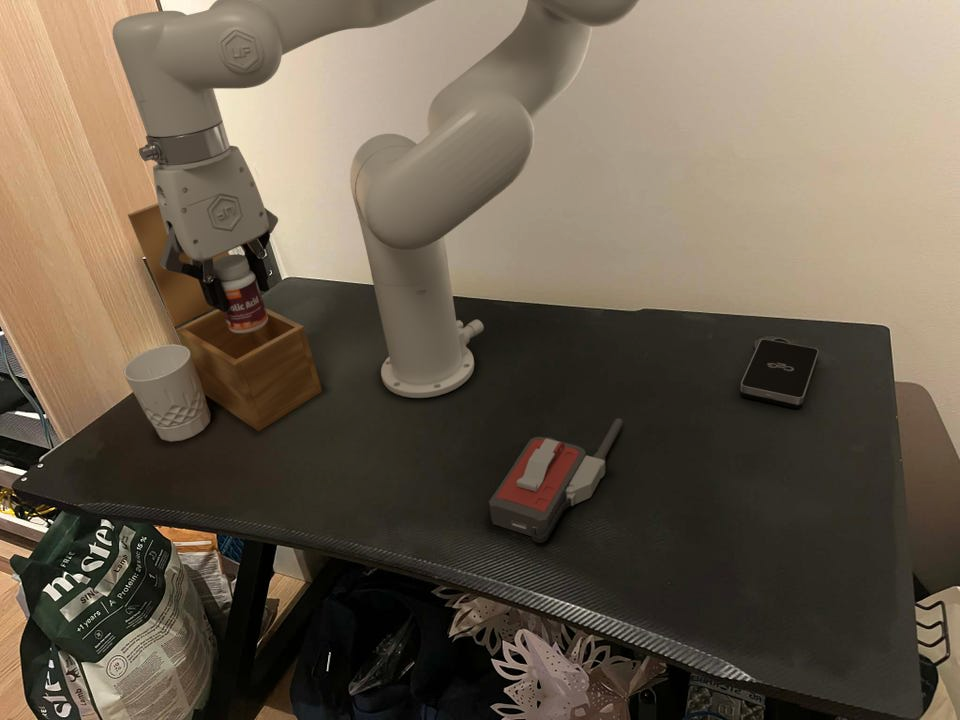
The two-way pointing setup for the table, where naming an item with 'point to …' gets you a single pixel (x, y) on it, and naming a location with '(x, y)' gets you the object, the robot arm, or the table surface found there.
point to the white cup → (169, 391)
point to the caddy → (252, 366)
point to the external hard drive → (779, 373)
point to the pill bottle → (240, 294)
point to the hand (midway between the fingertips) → (240, 296)
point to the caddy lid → (173, 287)
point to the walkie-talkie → (547, 484)
